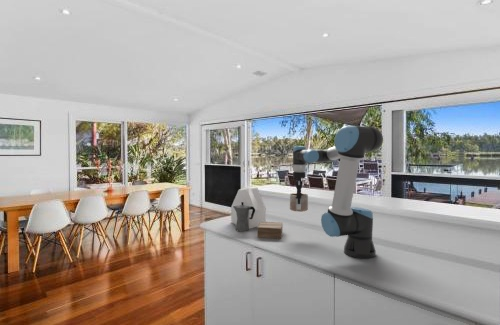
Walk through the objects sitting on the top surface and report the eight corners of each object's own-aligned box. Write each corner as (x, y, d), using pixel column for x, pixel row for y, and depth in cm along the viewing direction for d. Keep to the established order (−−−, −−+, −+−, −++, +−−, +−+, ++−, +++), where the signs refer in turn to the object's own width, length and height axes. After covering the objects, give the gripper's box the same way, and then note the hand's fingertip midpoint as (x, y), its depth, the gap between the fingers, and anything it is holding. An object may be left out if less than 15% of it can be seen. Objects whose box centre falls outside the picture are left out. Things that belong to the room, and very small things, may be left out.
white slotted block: (265, 224, 207) (265, 189, 205) (248, 228, 197) (248, 191, 195) (247, 219, 221) (247, 186, 220) (231, 222, 211) (231, 187, 210)
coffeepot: (230, 230, 192) (230, 202, 191) (236, 226, 201) (236, 200, 200) (252, 232, 187) (252, 204, 186) (257, 228, 195) (257, 201, 194)
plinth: (281, 238, 175) (281, 228, 175) (257, 237, 177) (257, 227, 177) (282, 231, 189) (282, 222, 188) (260, 230, 191) (260, 221, 191)
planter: (306, 208, 186) (307, 193, 186) (308, 212, 175) (308, 195, 175) (289, 208, 187) (289, 192, 187) (290, 211, 176) (290, 195, 176)
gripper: (293, 170, 192) (293, 203, 193) (292, 172, 169) (292, 211, 170) (305, 170, 191) (304, 204, 192) (305, 173, 168) (305, 211, 169)
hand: (298, 207), depth 181 cm, fingers closed on planter, 11 cm apart
